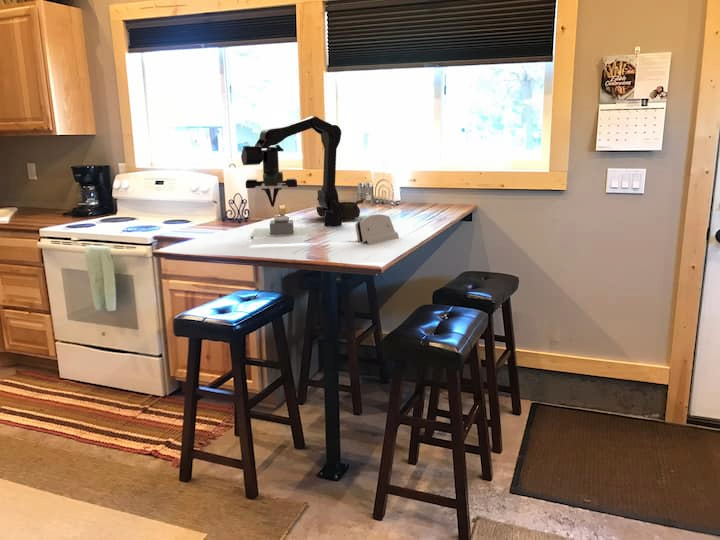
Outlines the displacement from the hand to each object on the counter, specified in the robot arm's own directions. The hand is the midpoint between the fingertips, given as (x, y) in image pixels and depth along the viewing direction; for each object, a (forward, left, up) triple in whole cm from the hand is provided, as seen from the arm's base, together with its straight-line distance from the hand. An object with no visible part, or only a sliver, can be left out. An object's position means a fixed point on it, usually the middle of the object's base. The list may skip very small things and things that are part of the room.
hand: (272, 206), depth 223 cm
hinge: (-37, +18, -11) cm, 42 cm away
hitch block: (-4, 0, -11) cm, 11 cm away
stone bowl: (-26, -35, -11) cm, 45 cm away
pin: (-3, +2, -9) cm, 10 cm away
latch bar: (-3, -2, -2) cm, 4 cm away
